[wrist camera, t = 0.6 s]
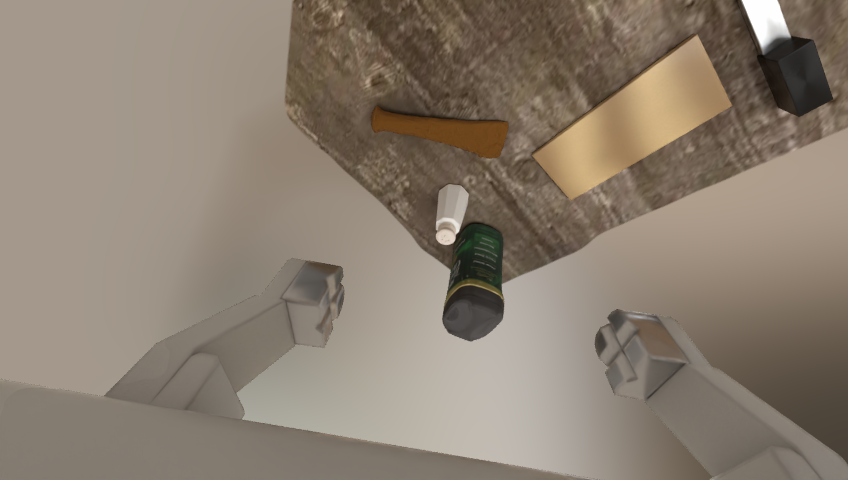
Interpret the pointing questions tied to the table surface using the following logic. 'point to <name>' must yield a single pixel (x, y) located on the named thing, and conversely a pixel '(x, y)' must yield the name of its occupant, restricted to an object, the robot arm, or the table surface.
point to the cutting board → (636, 120)
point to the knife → (786, 59)
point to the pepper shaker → (450, 212)
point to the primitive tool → (446, 131)
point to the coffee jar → (475, 284)
